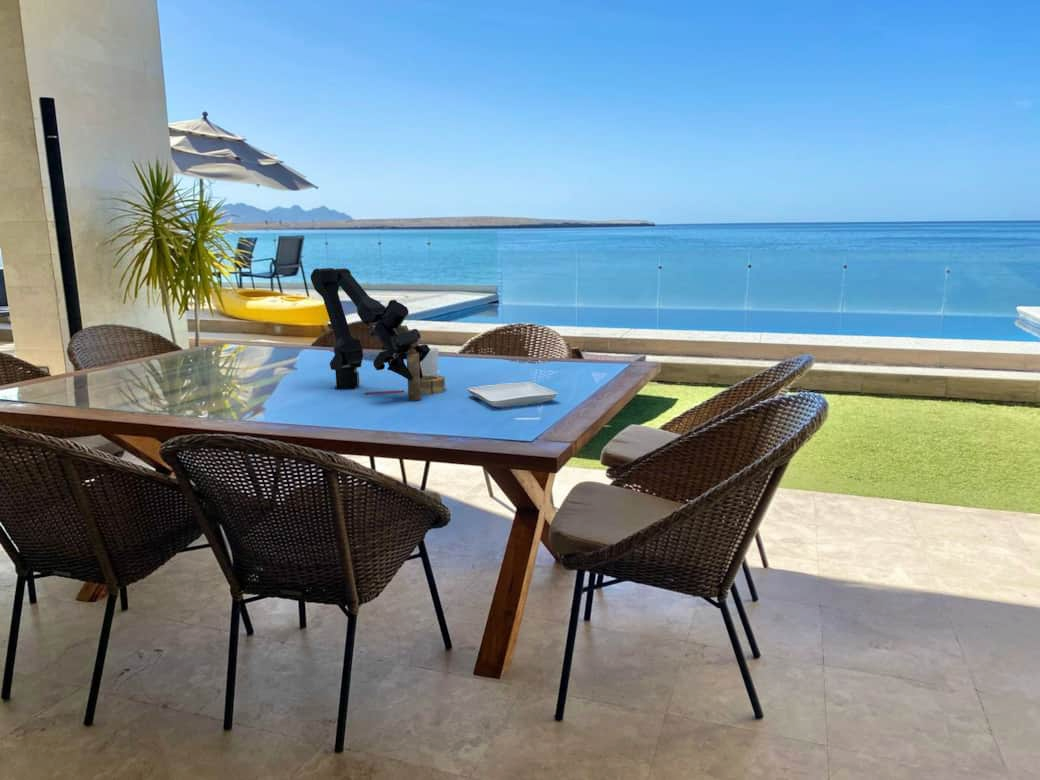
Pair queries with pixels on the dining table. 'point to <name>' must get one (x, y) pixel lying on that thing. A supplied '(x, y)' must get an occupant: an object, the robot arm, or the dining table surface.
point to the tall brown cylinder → (413, 375)
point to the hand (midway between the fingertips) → (416, 378)
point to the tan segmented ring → (432, 384)
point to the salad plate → (513, 394)
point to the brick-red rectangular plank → (385, 391)
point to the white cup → (430, 363)
